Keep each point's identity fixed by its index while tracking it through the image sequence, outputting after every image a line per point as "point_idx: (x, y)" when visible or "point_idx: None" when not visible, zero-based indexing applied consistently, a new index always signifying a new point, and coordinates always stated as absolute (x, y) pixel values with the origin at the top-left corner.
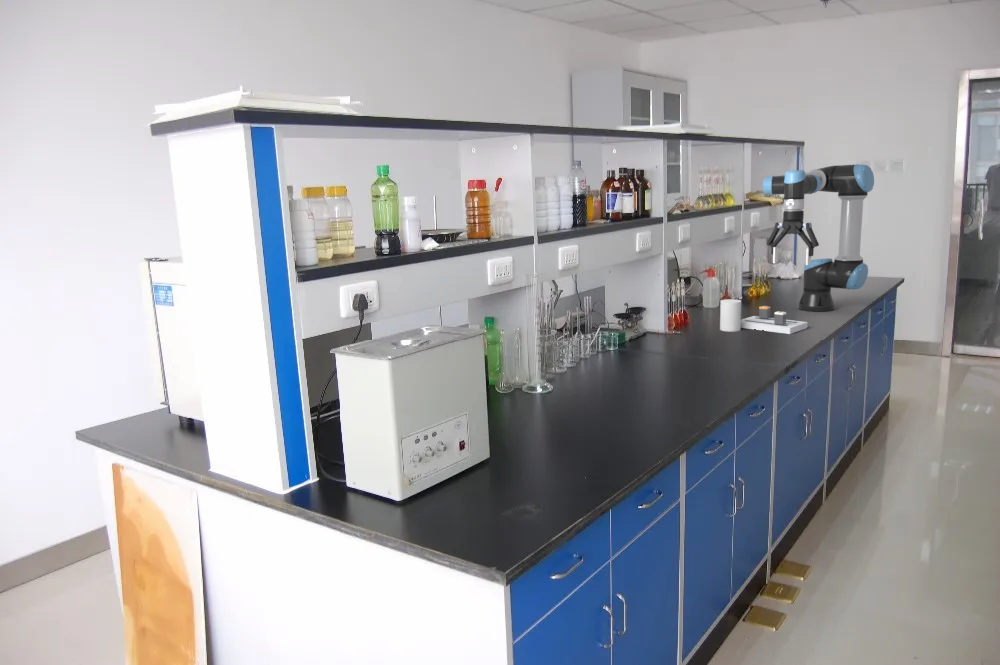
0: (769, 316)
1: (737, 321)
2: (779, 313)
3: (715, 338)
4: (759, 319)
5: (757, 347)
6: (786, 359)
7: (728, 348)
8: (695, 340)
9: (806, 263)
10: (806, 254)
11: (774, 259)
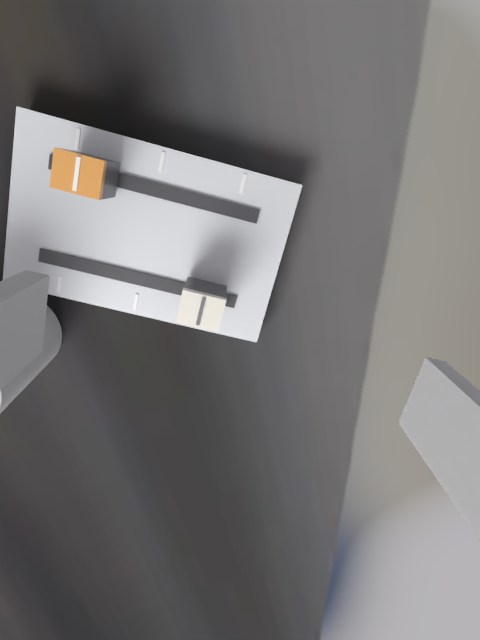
0: (117, 170)
1: (41, 367)
2: (200, 327)
3: (45, 484)
4: (81, 197)
5: (207, 543)
6: (308, 622)
7: (137, 578)
8: (3, 527)
9: (411, 433)
10: (459, 507)
11: (16, 370)
